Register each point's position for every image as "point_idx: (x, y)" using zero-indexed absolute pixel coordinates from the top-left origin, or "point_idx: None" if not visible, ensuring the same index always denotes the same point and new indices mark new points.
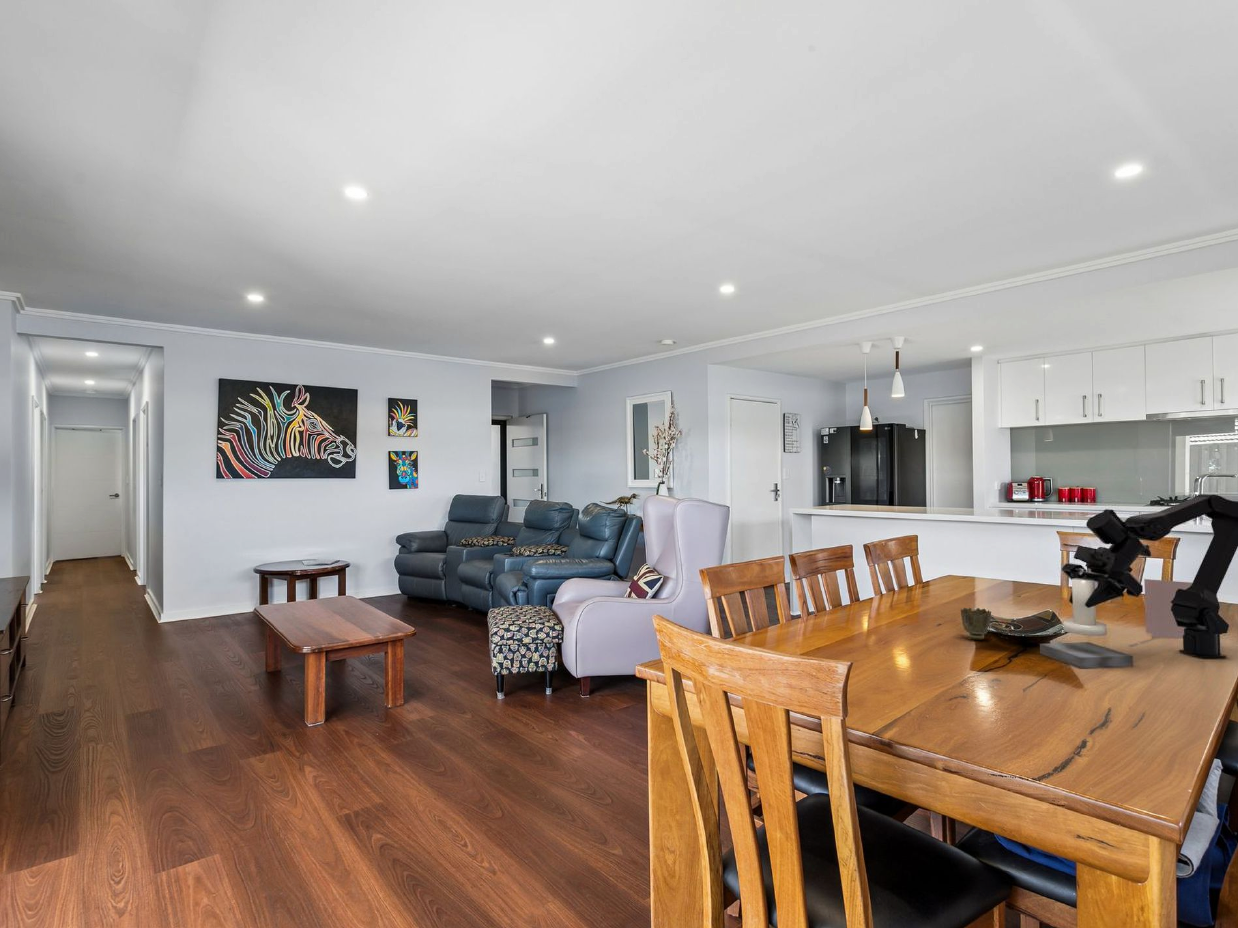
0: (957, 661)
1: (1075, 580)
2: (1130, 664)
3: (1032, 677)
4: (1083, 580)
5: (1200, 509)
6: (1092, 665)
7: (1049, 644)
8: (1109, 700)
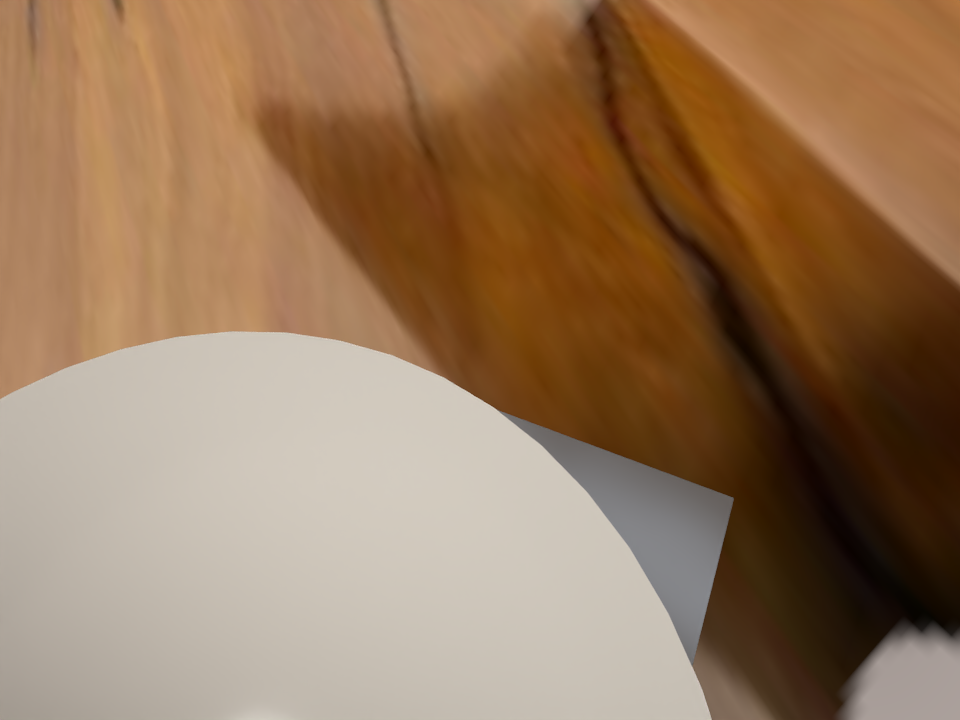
0: (757, 35)
1: (350, 352)
2: None
3: (438, 88)
4: (62, 566)
5: None
6: None
7: (693, 544)
8: (141, 72)
